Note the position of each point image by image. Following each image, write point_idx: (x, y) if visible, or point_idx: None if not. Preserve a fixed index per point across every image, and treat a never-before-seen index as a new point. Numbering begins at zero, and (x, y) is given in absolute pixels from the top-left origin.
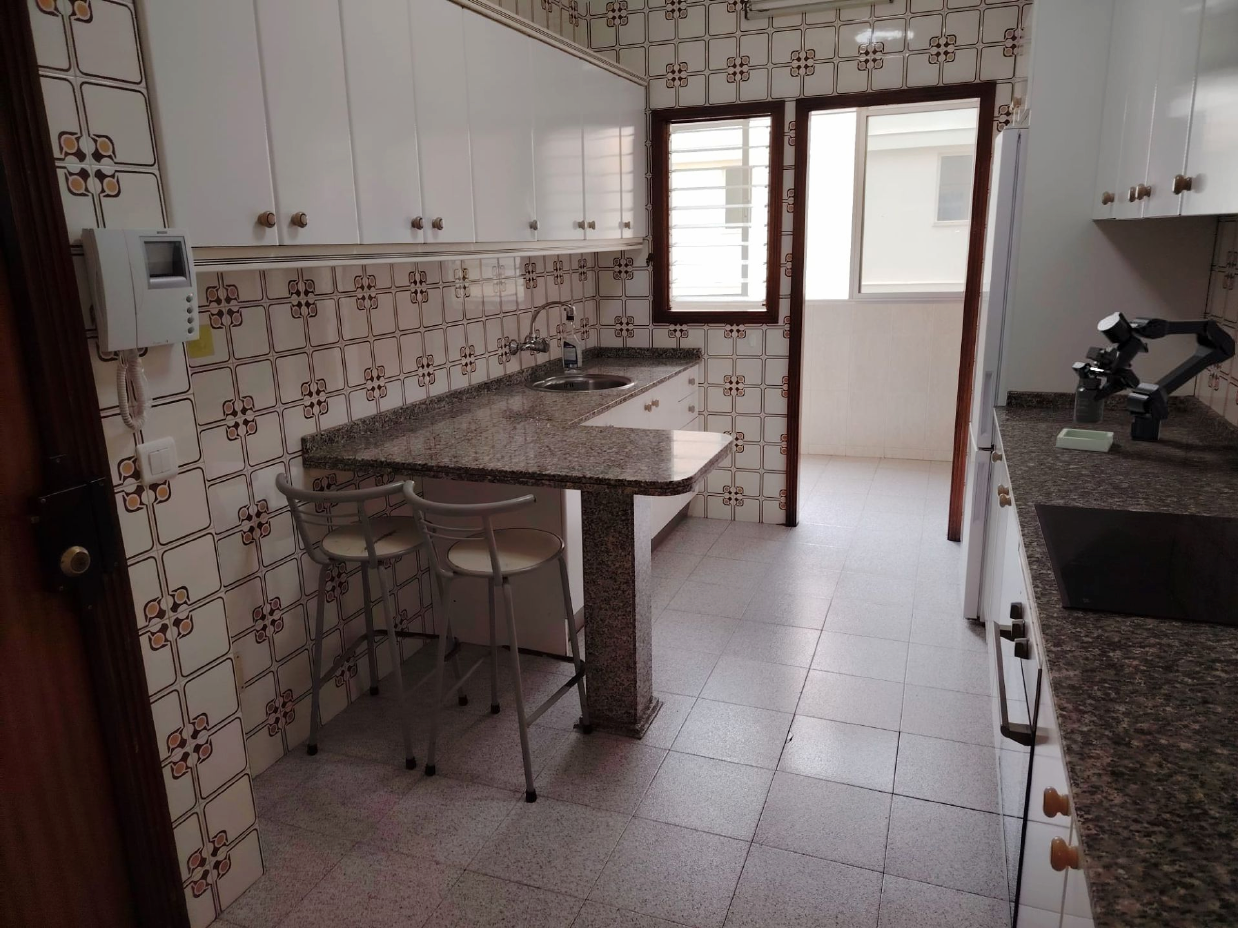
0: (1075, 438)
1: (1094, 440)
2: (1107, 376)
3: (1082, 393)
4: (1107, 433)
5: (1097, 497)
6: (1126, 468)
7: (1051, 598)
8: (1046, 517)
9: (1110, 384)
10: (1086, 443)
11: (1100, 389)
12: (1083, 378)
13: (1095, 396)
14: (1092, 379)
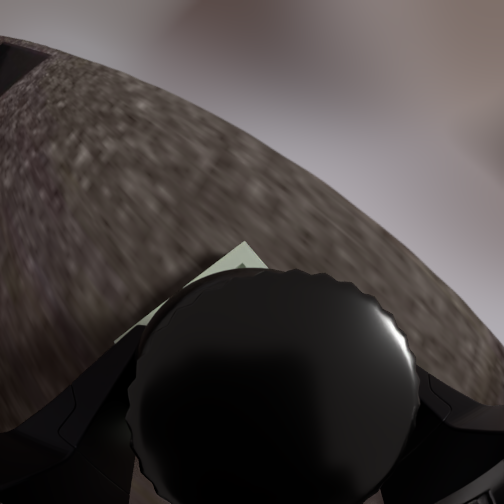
0: (196, 278)
1: (147, 315)
2: (7, 476)
3: (228, 270)
4: None
5: (10, 105)
6: (16, 237)
7: (9, 40)
8: (33, 55)
9: (30, 439)
10: None
11: (111, 383)
12: (370, 321)
13: (139, 335)
14: (199, 370)
